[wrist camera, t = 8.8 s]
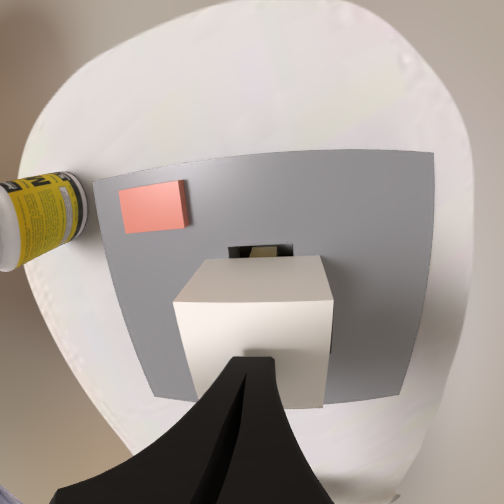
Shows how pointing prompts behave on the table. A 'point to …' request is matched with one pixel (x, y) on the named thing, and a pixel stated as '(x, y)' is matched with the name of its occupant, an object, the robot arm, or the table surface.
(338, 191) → the socket
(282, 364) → the plug
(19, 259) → the supplement bottle
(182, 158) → the table surface
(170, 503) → the robot arm
